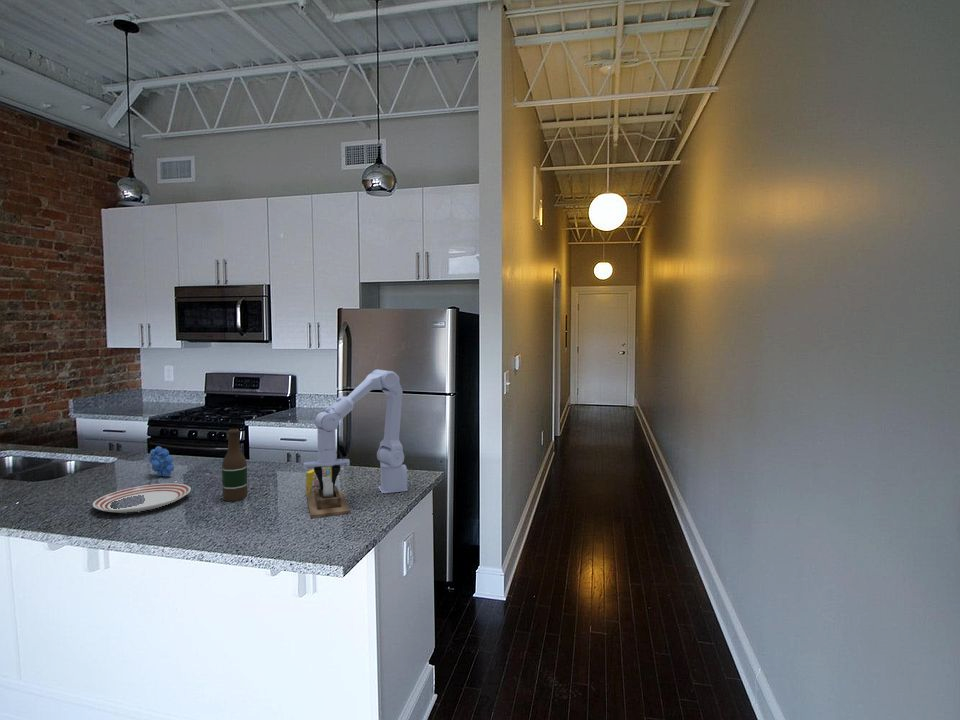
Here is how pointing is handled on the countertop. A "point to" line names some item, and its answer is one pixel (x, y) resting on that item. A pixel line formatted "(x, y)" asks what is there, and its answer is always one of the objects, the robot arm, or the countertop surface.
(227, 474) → the beer bottle
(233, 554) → the countertop surface
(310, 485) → the candy box
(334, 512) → the walnut well stand
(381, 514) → the countertop surface
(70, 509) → the countertop surface
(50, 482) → the countertop surface
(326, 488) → the grey rectangular block
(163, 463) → the grapes
